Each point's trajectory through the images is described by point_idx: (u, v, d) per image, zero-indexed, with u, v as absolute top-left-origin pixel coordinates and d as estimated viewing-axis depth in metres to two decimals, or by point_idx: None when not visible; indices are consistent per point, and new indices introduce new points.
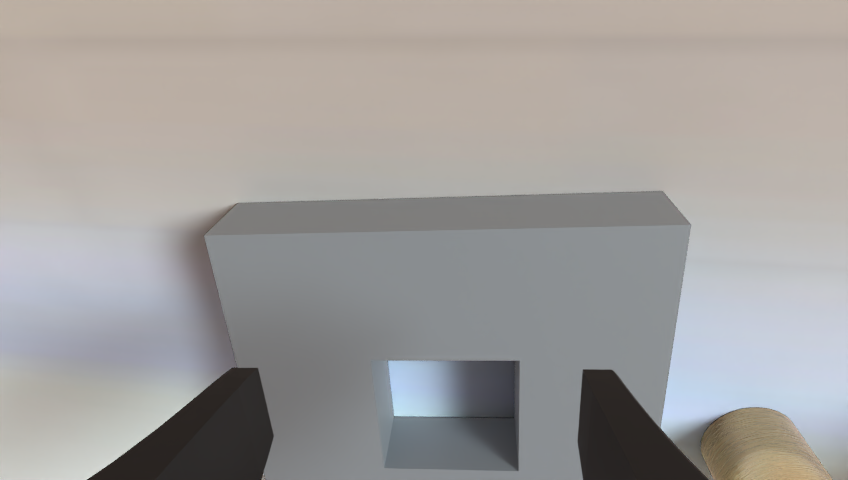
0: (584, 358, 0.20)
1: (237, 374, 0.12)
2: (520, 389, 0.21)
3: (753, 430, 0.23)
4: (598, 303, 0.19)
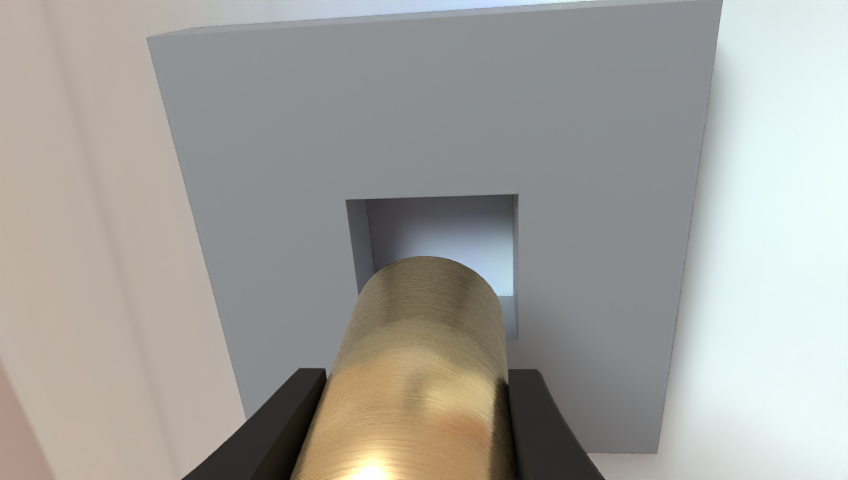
0: (332, 129, 0.17)
1: (307, 375, 0.12)
2: (386, 196, 0.18)
3: None
4: (257, 122, 0.17)
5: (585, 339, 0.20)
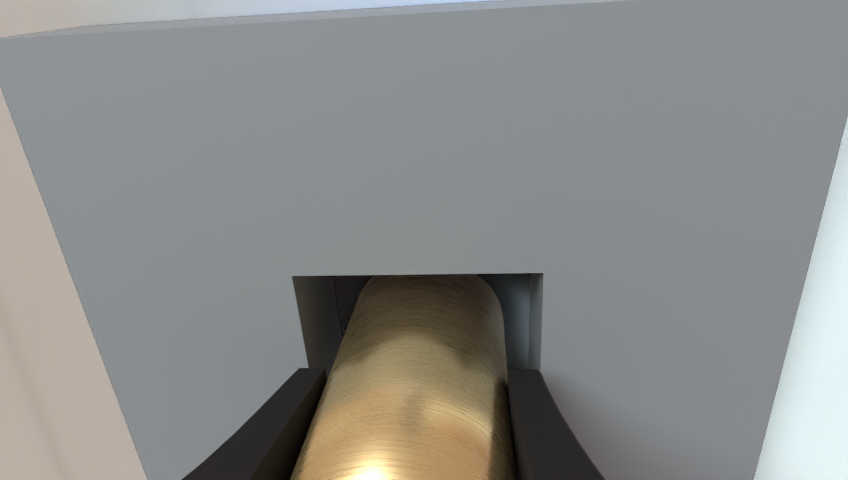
0: (268, 178, 0.12)
1: (307, 375, 0.12)
2: (350, 273, 0.12)
3: None
4: (158, 166, 0.12)
5: (631, 464, 0.14)
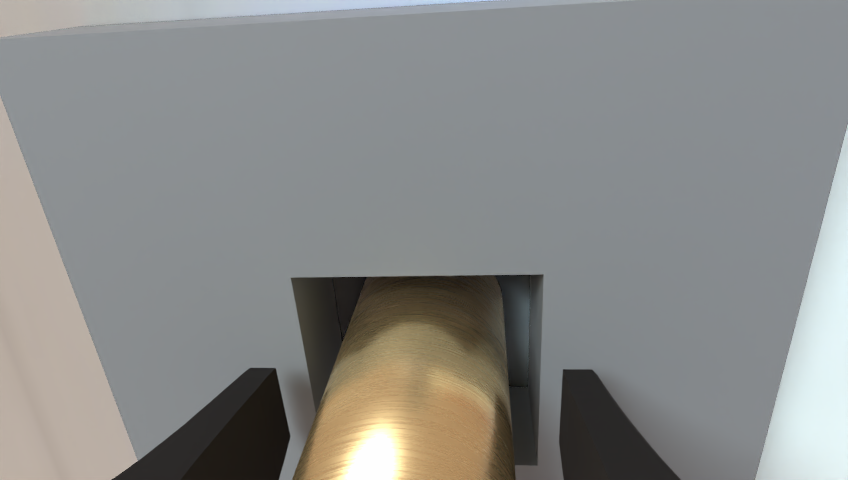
0: (267, 179, 0.11)
1: (256, 374, 0.12)
2: (349, 274, 0.12)
3: None
4: (156, 168, 0.12)
5: None
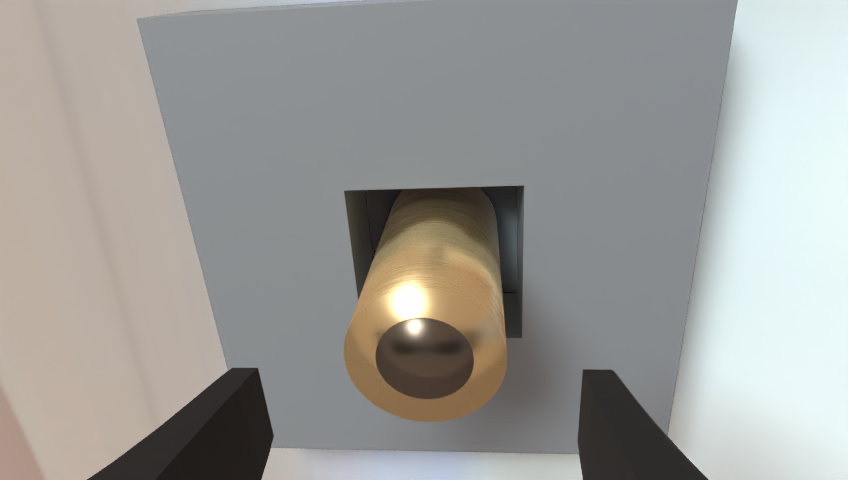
0: (330, 117, 0.16)
1: (237, 374, 0.12)
2: (386, 187, 0.17)
3: None
4: (252, 109, 0.17)
5: (591, 336, 0.19)
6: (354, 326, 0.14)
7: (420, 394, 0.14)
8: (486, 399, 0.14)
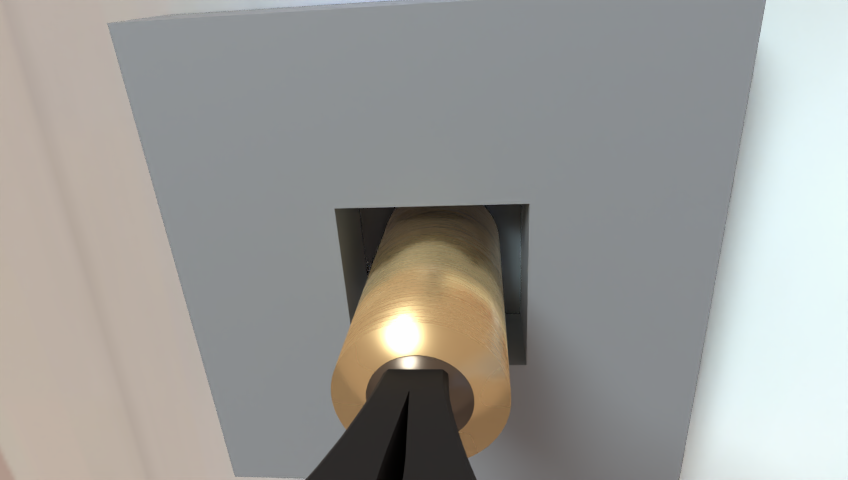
0: (319, 129, 0.15)
1: (399, 375, 0.12)
2: (380, 205, 0.16)
3: None
4: (234, 121, 0.15)
5: (601, 364, 0.18)
6: (342, 363, 0.12)
7: None
8: (487, 442, 0.13)
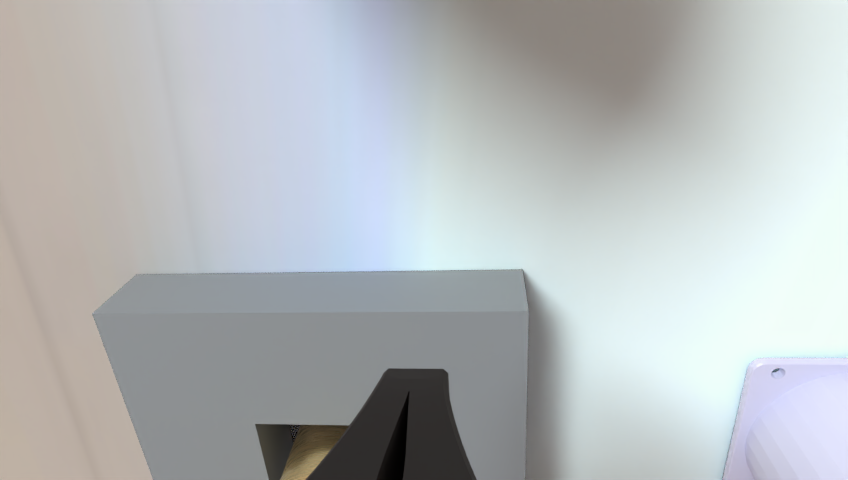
0: (241, 378, 0.22)
1: (399, 375, 0.12)
2: (287, 423, 0.22)
3: None
4: (182, 371, 0.22)
5: None
6: None
7: None
8: None
